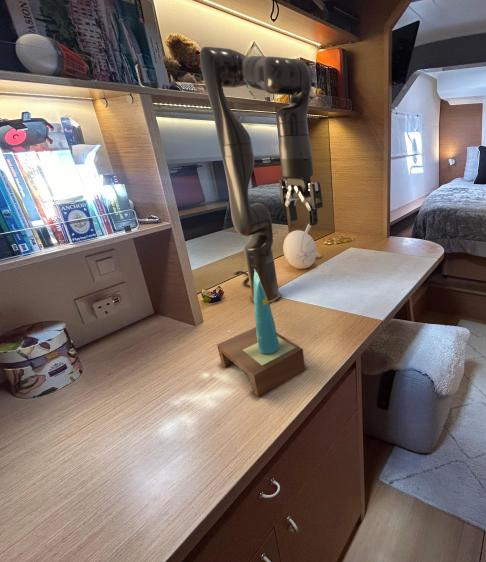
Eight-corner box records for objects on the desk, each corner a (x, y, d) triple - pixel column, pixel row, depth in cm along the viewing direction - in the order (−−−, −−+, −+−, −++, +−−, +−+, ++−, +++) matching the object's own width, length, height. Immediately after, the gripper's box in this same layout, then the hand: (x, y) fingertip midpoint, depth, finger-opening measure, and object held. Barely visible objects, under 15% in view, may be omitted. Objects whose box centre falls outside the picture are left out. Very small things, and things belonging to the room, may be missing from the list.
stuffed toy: (295, 240, 130) (327, 217, 149) (268, 240, 136) (302, 218, 155) (307, 283, 139) (336, 256, 158) (281, 280, 145) (312, 255, 164)
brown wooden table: (221, 364, 87) (216, 343, 84) (266, 342, 95) (262, 323, 93) (258, 397, 75) (253, 374, 72) (305, 369, 83) (302, 348, 81)
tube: (283, 353, 79) (271, 277, 72) (263, 359, 77) (248, 282, 70) (274, 338, 85) (262, 267, 78) (255, 344, 83) (241, 271, 76)
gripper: (266, 157, 83) (275, 221, 90) (301, 157, 74) (308, 230, 81) (291, 154, 88) (298, 216, 95) (327, 155, 79) (332, 223, 86)
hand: (303, 222), depth 88 cm, fingers open, 8 cm apart
